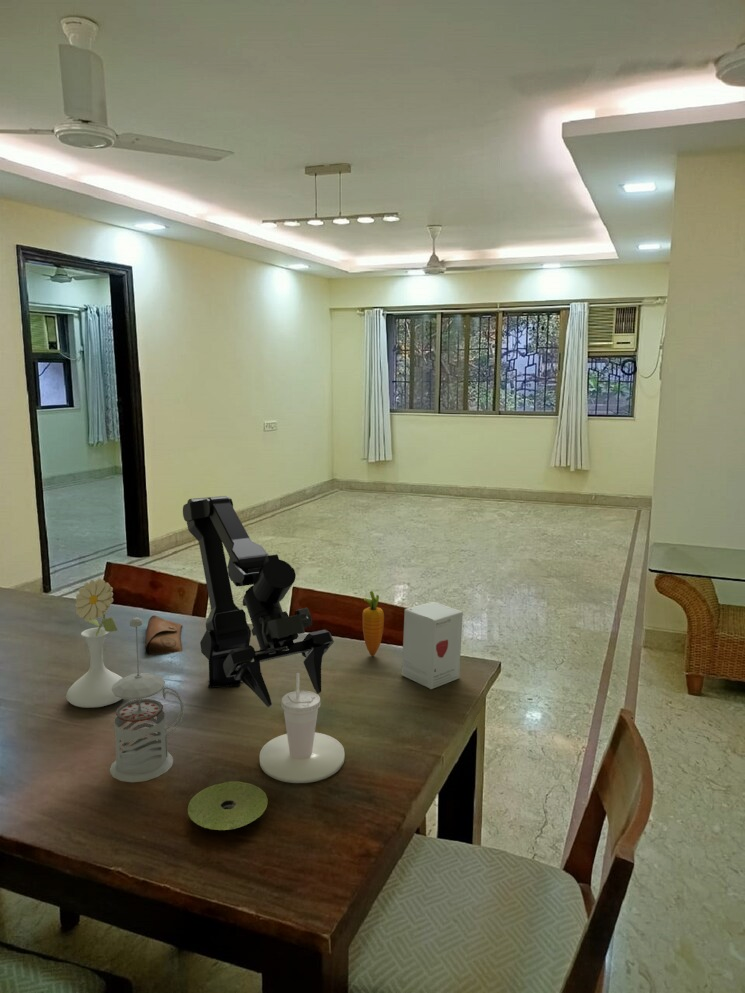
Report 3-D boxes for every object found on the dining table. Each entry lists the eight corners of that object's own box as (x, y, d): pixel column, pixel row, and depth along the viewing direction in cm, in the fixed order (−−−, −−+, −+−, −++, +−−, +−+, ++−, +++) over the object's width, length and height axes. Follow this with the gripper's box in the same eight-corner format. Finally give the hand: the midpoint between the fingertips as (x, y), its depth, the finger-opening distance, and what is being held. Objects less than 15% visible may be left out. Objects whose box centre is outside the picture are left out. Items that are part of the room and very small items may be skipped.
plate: (258, 785, 107) (258, 779, 106) (260, 738, 120) (260, 733, 120) (348, 780, 108) (348, 774, 108) (340, 735, 122) (340, 729, 122)
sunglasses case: (184, 651, 157) (168, 628, 155) (157, 669, 156) (140, 646, 154) (183, 624, 174) (168, 603, 172) (158, 640, 173) (143, 619, 171)
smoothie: (293, 739, 118) (292, 663, 116) (326, 747, 116) (327, 669, 113) (274, 758, 112) (273, 678, 110) (309, 767, 110) (309, 685, 108)
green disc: (264, 840, 94) (264, 827, 94) (181, 843, 93) (180, 830, 93) (270, 791, 105) (270, 779, 105) (195, 793, 104) (195, 781, 104)
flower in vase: (56, 699, 133) (48, 574, 129) (112, 681, 141) (106, 563, 137) (87, 723, 124) (79, 590, 120) (145, 702, 133) (140, 577, 128)
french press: (108, 755, 114) (100, 611, 110) (180, 741, 119) (175, 603, 114) (111, 787, 105) (103, 632, 101) (188, 772, 110) (184, 622, 106)
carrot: (381, 661, 154) (382, 597, 151) (359, 659, 155) (360, 595, 152) (385, 653, 158) (386, 590, 156) (364, 650, 159) (365, 588, 157)
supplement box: (431, 690, 140) (433, 620, 137) (400, 676, 147) (402, 608, 144) (461, 678, 146) (464, 611, 143) (430, 664, 153) (432, 600, 150)
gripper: (228, 603, 111) (257, 694, 104) (329, 585, 121) (361, 667, 114) (211, 633, 119) (237, 720, 112) (307, 614, 129) (336, 693, 122)
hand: (295, 699), depth 115 cm, fingers open, 9 cm apart
